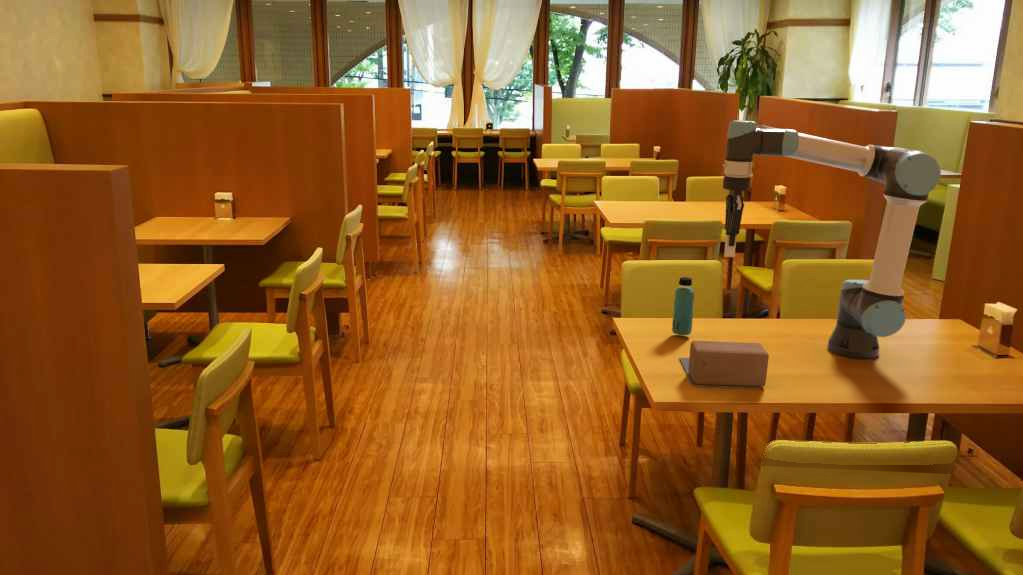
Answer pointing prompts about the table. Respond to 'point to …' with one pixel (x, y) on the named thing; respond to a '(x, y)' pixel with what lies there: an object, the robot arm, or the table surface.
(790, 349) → the table surface
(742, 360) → the wooden block
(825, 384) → the table surface
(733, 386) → the mat
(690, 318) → the beverage bottle
